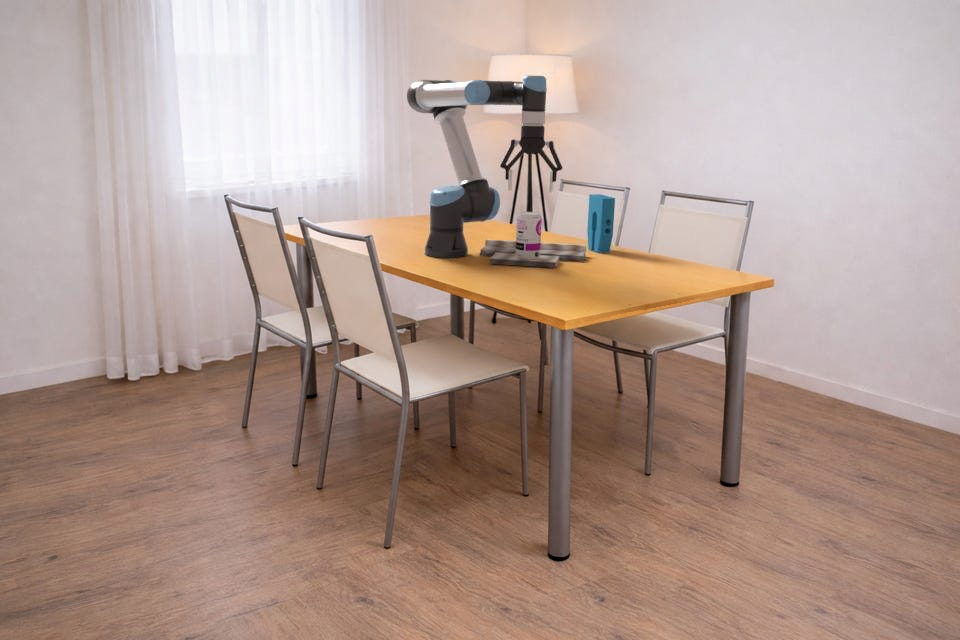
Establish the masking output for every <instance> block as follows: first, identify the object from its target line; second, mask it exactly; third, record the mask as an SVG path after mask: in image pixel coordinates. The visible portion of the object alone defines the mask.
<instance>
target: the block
mask: <svg viewBox="0 0 960 640" xmlns="http://www.w3.org/2000/svg"><path fill="white" fill-rule="evenodd" d="M588 195H589V196H588V209H587V211H588V213H587V215H588V216H587V227H586V228H587V230H586V232H587V247H588V250H589V251H593V252H594V253H597V254H606V253H607V254H608V253H610V250H611V248H612V247H611V246H612V241H613V236H614V224H615V223H614V222H615V221H614V220H615V207H616V206H615V205H616V198H615V197H613V196H609V195H605V194H602V193H601V194H600V193H597V194H593V193H592V194H590V193H589V194H588Z"/></svg>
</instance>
